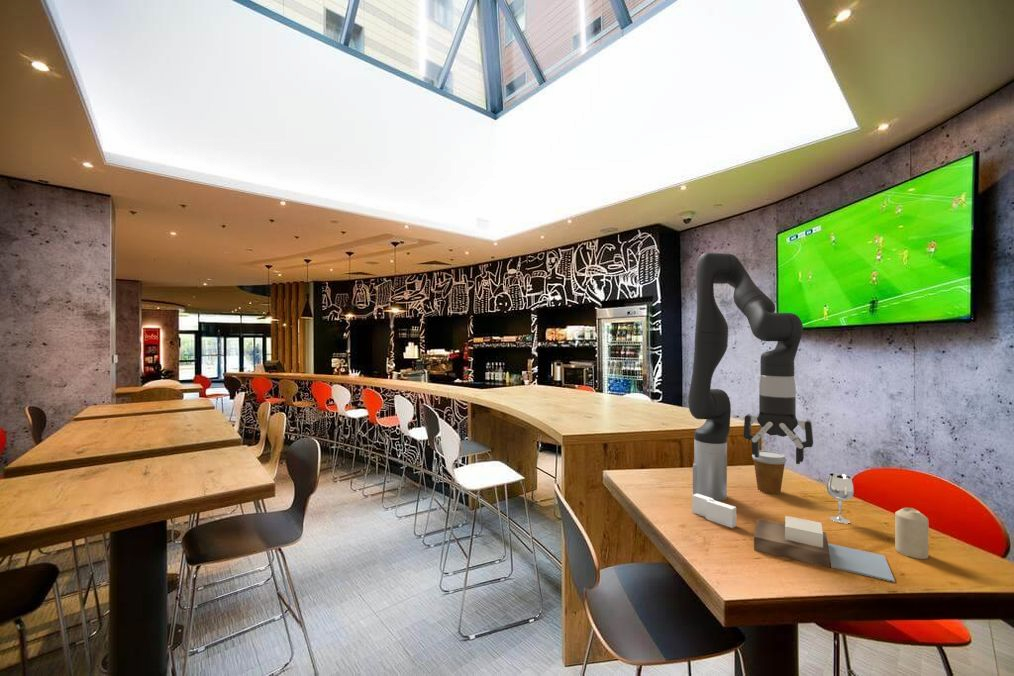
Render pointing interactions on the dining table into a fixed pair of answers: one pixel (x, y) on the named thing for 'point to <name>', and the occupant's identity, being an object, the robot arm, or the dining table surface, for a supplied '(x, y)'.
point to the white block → (803, 531)
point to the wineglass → (840, 492)
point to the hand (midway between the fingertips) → (777, 460)
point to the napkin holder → (714, 510)
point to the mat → (859, 562)
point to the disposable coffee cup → (769, 471)
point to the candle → (911, 533)
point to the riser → (788, 544)
